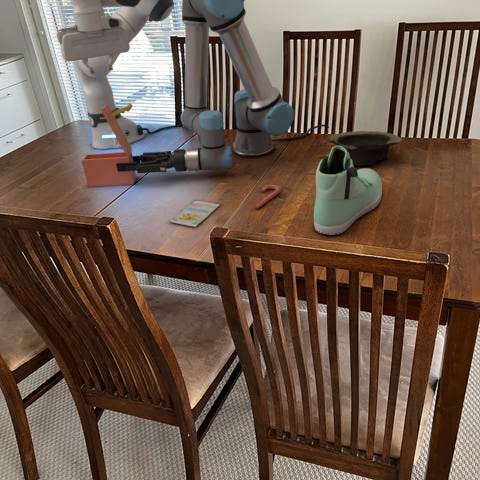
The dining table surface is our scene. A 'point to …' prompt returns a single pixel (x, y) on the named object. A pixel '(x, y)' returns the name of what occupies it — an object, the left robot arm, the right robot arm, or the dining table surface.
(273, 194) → the candy cane
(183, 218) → the baking ingredient package
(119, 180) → the open box
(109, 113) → the block with yellow handle
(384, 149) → the dark brown hat
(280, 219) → the dining table surface
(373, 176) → the sneaker
